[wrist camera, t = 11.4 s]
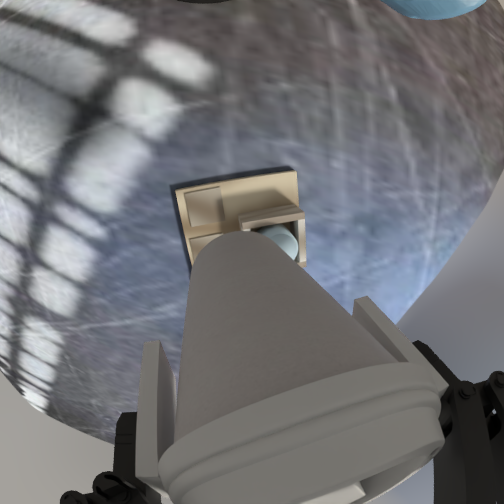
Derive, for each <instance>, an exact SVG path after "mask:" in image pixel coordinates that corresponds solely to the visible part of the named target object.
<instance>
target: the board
mask: <svg viewBox="0 0 504 504" xmlns="http://www.w3.org/2000/svg"><path fill="white" fill-rule="evenodd" d="M175 192H176V197H177V202H178V206H179V211H180V216H181V221H182V225H183V230H184V234H185V238H186V243H187V247H188V251H189V256H190V260H191V264H192V266H193V263H194V261H195V259H196V257H197V255H198V254H199V252H200V251H201V250H202V249H203V248H204V247H205V246H206V245H207V244H208V243H209V242H210V241H212V240H213V239H215V238H217V237H219V236H221V235H223V234H226V233H230V232H235V231H252V232H257V231H258V230H259V229H260V228H261V227H262V226H267V225H273V224H278V223H280V224H282V225H284V226H285V227H286V228H287V229H288V230H289V232H290V233H291V234H292V235H293V236H294V237H295V239H296V240H297V243H298V253H297V256H296V257H295V259H294V261H295V262H296V263H297V264H298V265H299V266H300V267H301V268H303V267H306V240H305V215H304V211H302V210H301V209H300V208H299V202H298V186H297V172H296V171H295V170H291V171H283V172H276V173H269V174H261V175H255V176H248V177H242V178H235V179H229V180H223V181H218V182H212V183H207V184H201V185H196V186H191V187H186V188H181V189H176V191H175Z"/></svg>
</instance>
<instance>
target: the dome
mask: <svg viewBox="0 0 504 504" xmlns="http://www.w3.org/2000/svg"><path fill="white" fill-rule="evenodd" d="M256 233H260V234H262V235H264V236H266V237H268V238H270V239H271V240H273V241H274V242H275V243H276V244H277V245H278V246H279V247H280V248H281V249H282V250H284V251H285V252H286V253H287V254H288V255H289V256H290V257H291V258H292V259H293V260H294V259H295V257H296V256H297V253H298V243H297V240H296V239H295V237H294V236H293V235H292V234H291V233H290V232H289V230H288V229H287V228H286V227H285V226H284V225H282V224H280V223H278V224H273V225H267V226H262V227H261V228H260V229H259V230H258V231H257V232H256Z"/></svg>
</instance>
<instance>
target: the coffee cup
mask: <svg viewBox="0 0 504 504" xmlns="http://www.w3.org/2000/svg"><path fill="white" fill-rule="evenodd" d="M440 412H441V401H440V399H439V392H438V389H437V387H436V384H435V382H434V379H433V377H432V374H431V373H430V371H429V370H428V369H427V368H425V367H424V366H422V365H419V364H415V363H408V362H398V361H397V360H396V359H395V358H394V357H393V356H392V355H391V354H390V353H389V352H388V351H387V350H386V349H385V348H384V347H383V346H382V345H381V344H380V343H379V342H378V341H377V340H376V339H375V338H374V337H373V336H372V335H371V334H370V333H369V332H368V331H367V330H366V329H365V328H364V327H363V326H362V325H361V324H360V323H359V322H357V321H356V320H355V319H354V318H353V317H352V316H351V315H350V314H349V313H348V312H347V311H346V310H345V309H344V308H343V307H342V306H341V305H340V304H339V303H338V302H337V301H336V300H335V299H334V298H333V297H332V296H331V295H330V294H329V293H328V292H326V291H325V290H324V289H323V288H322V287H321V286H320V285H319V284H318V283H317V282H316V281H315V280H314V279H313V278H312V277H311V276H310V275H309V274H308V273H307V272H306V271H305V270H304V269H302V268H301V267H300V266H299V265H298V264H297V263H296V262H295V261H294V260H293V259H292V258H291V257H290V256H289V255H288V254H287V253H286V252H285V251H284V250H282V249H281V248H280V247H279V246H278V245H277V244H276V243H275V242H274V241H273V240H271V239H270V238H268V237H266V236H264V235H262V234H260V233H256V232H252V231H235V232H230V233H226V234H223V235H221V236H219V237H217V238H215V239H213V240H212V241H210V242H209V243H208V244H207V245H206V246H205V247H204V248H203V249H202V250H201V251H200V252H199V254H198V255H197V257H196V259H195V261H194V263H193V266H192V270H191V277H190V284H189V291H188V299H187V307H186V315H185V323H184V332H183V341H182V351H181V361H180V371H179V383H178V394H177V407H176V421H175V436H174V444H173V445H172V446H170V447H169V448H168V449H167V450H166V451H165V452H164V454H163V455H162V457H161V458H160V460H159V463H158V473H159V476H160V478H161V481H162V484H163V487H164V489H165V491H166V493H167V494H168V495H169V497H170V499H171V501H172V502H173V503H174V504H366V503H368V502H370V501H372V500H373V499H375V498H377V497H379V496H381V495H383V494H384V493H386V492H388V491H389V490H391V489H393V488H394V487H396V486H397V485H399V484H401V483H402V482H404V481H405V480H406V479H408V478H409V477H410V476H412V475H413V474H415V473H416V472H417V471H418V470H420V469H421V468H422V467H423V466H425V465H426V464H427V463H428V462H429V461H430V460H431V459H432V458H433V457H434V456H435V455H436V454H437V453H438V452H439V451H440V450H441V448H442V447H443V445H444V443H445V439H444V435H443V432H442V429H441V426H440V423H439V420H438V418H439V415H440Z"/></svg>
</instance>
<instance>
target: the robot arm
mask: <svg viewBox="0 0 504 504" xmlns="http://www.w3.org/2000/svg"><path fill="white" fill-rule="evenodd" d="M179 1H183V2H189V3H218V2H224V1H229V0H179ZM381 1H382V2H384V3H385V4H387V5H388V6H389V7H391V8H392V9H394V10H395V11H397V12H398V13H400V14H402V15H405V16H407V17H411V18H420V19H423V20H439V19H447V18H452V17H456V16H459V15H462V14H465V13H467V12H470V11H472V10H474V9H476V8H478V7H479V6H481V5H482V4H483V3H485V2H486V1H487V0H381ZM352 317H353V318H354V319H355V320H356V321H357V322H359V323H360V324H361V325H362V326H363V327H364V328H365V329H366V330H367V331H368V332H369V333H370V334H371V335H372V336H373V337H374V338H375V339H376V340H377V341H378V342H379V343H380V344H381V345H382V346H383V347H384V348H385V349H386V350H387V351H388V352H389V353H390V354H391V355H392V356H393V357H394V358H395V359H396V360H397V361H398V362H408V363H415V364H419V365H422V366H424V367H425V368H427V369H428V370H429V371H430V373H431V374H432V377H433V379H434V382H435V384H436V387H437V389H438V392H439V399H440V401H441V412H440V415H439V418H438V420H439V423H440V426H441V429H442V432H443V435H444V439H445V443H444V445H443V447H442V448H441V450H440V451H439V452H438V453H437V454H436V455H435V456H434V457H433V461H434V504H496V502H497V504H504V372H502V371H495V372H493V373H492V374H491V375H490V377H489V378H488V380H486V381H482V382H479V383H476V384H473V383H471V382H469V381H460V380H459V379H458V378H457V377H456V376H455V375H454V374H453V373H452V371H451V370H450V369H449V368H448V367H447V366H446V365H445V364H444V363H443V362H442V361H441V360H440V359H439V357H438V356H437V355H436V354H434V352H433V351H432V350H431V349H430V348H429V347H428V345H426V344H424V343H422V342H421V341H419V340H417V341H415V342H413V343H411V342H410V341H409V339H408V338H407V337H406V336H405V335H404V334H403V333H402V332H401V331H400V330H399V329H398V328H397V327H396V325H395V324H394V323H393V322H392V321H391V320H390V319H389V318H388V317H387V316H386V315H385V314H384V313H383V312H382V311H381V310H380V309H379V308H378V307H377V306H376V304H375V303H374V302H373V301H372V300H371V299H370V298H369V297H368V296H365V297H361V298H358V299H355V300H354V307H353V315H352ZM176 407H177V406H176V378H175V376H174V374H173V371H172V369H171V367H170V364H169V362H168V360H167V357H166V355H165V352H164V350H163V347H162V345H161V342H160V340H158V341H151V342H144V348H143V356H142V364H141V374H140V384H139V395H138V409H137V412H124V413H122V414H121V416H120V418H119V419H118V421H117V424H116V436H115V447H114V464H113V472H111V471H107V472H102V473H101V474H99V475H97V476H96V478H95V479H94V481H93V487H92V488H93V493H88V494H81V493H79V492H77V491H72V490H71V491H67V492H65V493H64V494H63V495H62V497H61V499H60V504H162V503H161V496H163V497H165V498H170V497H169V495H168V494H167V493H166V491H165V489H164V487H163V484H162V481H161V478H160V476H159V473H158V463H159V460H160V458H161V457H162V455H163V454H164V452H165V451H166V450H167V449H168V448H169V447H170V446H172V445H173V444H174V436H175V421H176ZM494 409H495V411H496V414H493V412H492V411H493V410H494Z"/></svg>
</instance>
